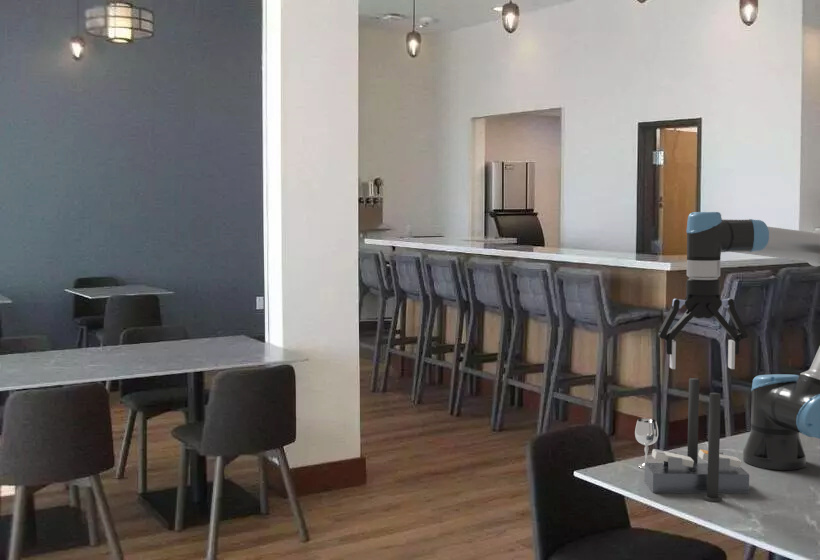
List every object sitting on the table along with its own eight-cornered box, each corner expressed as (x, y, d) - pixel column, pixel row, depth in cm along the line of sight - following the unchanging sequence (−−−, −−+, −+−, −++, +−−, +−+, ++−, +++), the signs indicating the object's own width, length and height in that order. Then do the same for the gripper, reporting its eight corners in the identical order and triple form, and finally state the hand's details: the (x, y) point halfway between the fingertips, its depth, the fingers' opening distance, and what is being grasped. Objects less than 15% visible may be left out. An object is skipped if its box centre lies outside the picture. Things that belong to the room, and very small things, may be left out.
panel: (736, 482, 219) (737, 450, 218) (748, 493, 210) (749, 461, 209) (644, 481, 220) (645, 449, 219) (652, 492, 211) (653, 460, 210)
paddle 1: (688, 462, 216) (690, 456, 216) (692, 467, 213) (694, 460, 212) (651, 454, 217) (652, 448, 217) (655, 459, 213) (656, 452, 213)
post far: (698, 474, 226) (700, 377, 224) (702, 478, 222) (704, 380, 220) (681, 473, 226) (683, 377, 224) (685, 478, 222) (688, 380, 220)
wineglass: (658, 470, 229) (659, 423, 228) (634, 469, 230) (635, 422, 229) (656, 464, 234) (657, 418, 233) (634, 462, 236) (634, 417, 235)
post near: (718, 496, 208) (721, 392, 206) (724, 502, 204) (726, 395, 202) (701, 496, 208) (703, 391, 206) (706, 501, 204) (708, 395, 202)
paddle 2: (735, 463, 216) (736, 456, 216) (740, 467, 212) (742, 461, 212) (697, 455, 216) (699, 448, 216) (702, 459, 212) (704, 453, 212)
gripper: (752, 276, 214) (750, 365, 216) (645, 277, 216) (644, 365, 217) (763, 279, 207) (761, 370, 209) (652, 279, 208) (651, 371, 210)
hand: (701, 368), depth 213 cm, fingers open, 13 cm apart
